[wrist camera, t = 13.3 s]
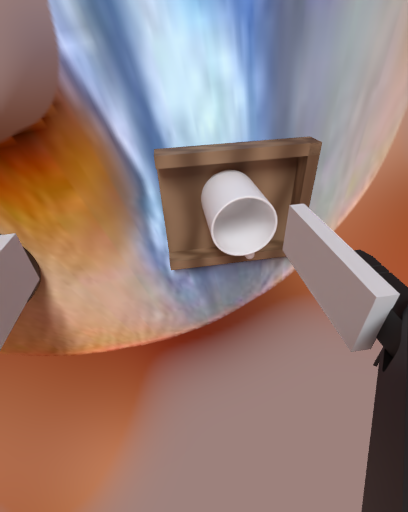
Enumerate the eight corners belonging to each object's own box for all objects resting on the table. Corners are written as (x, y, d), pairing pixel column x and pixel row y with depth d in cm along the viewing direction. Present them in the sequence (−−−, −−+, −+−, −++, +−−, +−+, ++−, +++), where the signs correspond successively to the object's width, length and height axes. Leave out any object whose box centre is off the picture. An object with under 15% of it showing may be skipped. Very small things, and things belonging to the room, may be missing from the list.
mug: (261, 227, 45) (285, 264, 37) (215, 244, 46) (228, 283, 37) (247, 159, 38) (272, 185, 30) (192, 179, 38) (202, 211, 30)
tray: (170, 257, 47) (171, 270, 44) (154, 149, 36) (154, 156, 33) (291, 243, 49) (299, 254, 46) (309, 136, 38) (322, 142, 35)
